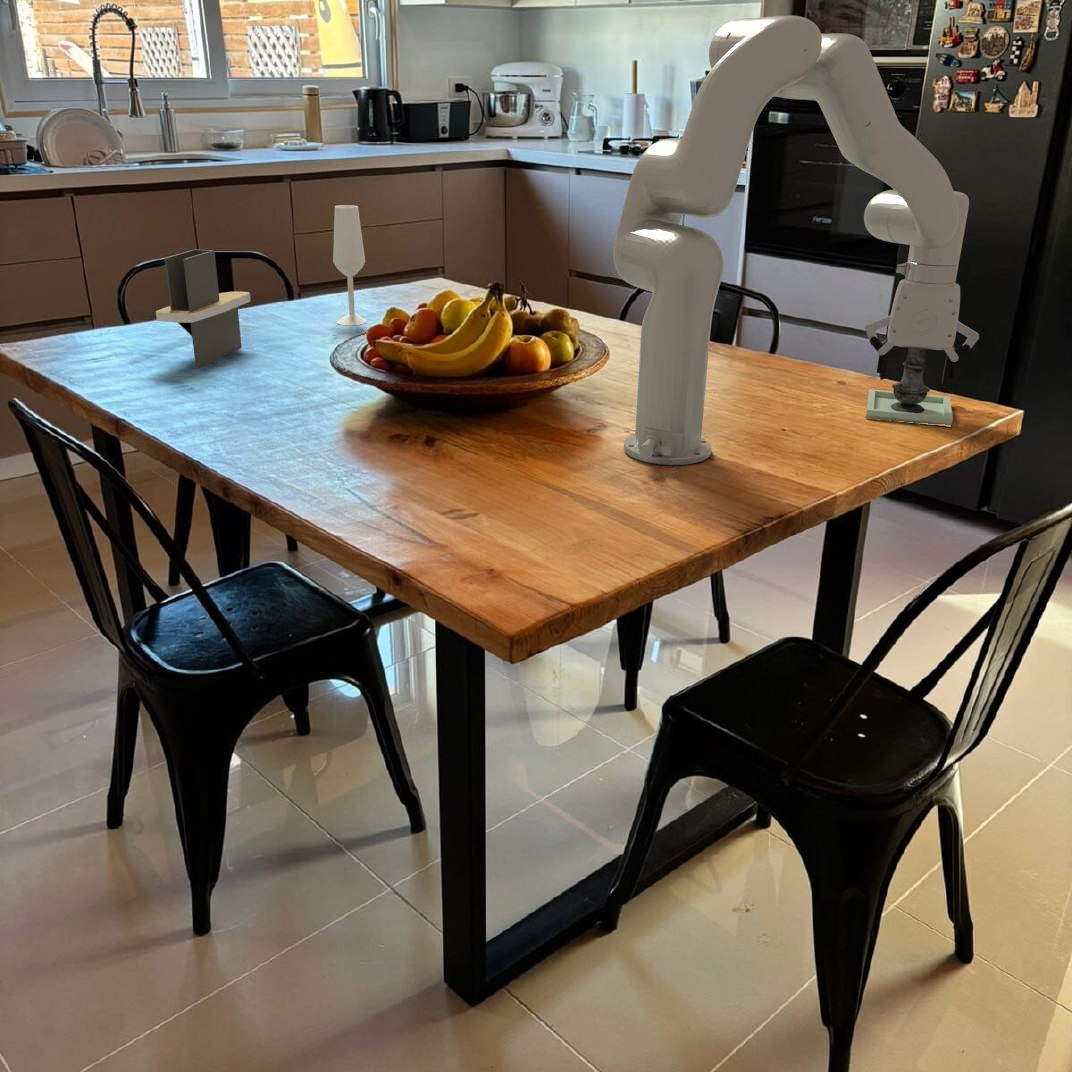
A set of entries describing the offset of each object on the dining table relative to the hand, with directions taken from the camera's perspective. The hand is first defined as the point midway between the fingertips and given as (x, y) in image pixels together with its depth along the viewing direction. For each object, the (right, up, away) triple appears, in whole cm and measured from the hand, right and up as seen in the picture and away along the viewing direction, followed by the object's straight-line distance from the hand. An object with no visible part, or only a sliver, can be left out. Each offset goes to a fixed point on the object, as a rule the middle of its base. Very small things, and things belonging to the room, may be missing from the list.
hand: (913, 380), depth 171 cm
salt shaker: (0, -5, +2) cm, 5 cm away
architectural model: (-123, +8, +27) cm, 126 cm away
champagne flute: (-101, +21, +56) cm, 118 cm away
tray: (0, -5, +2) cm, 5 cm away
